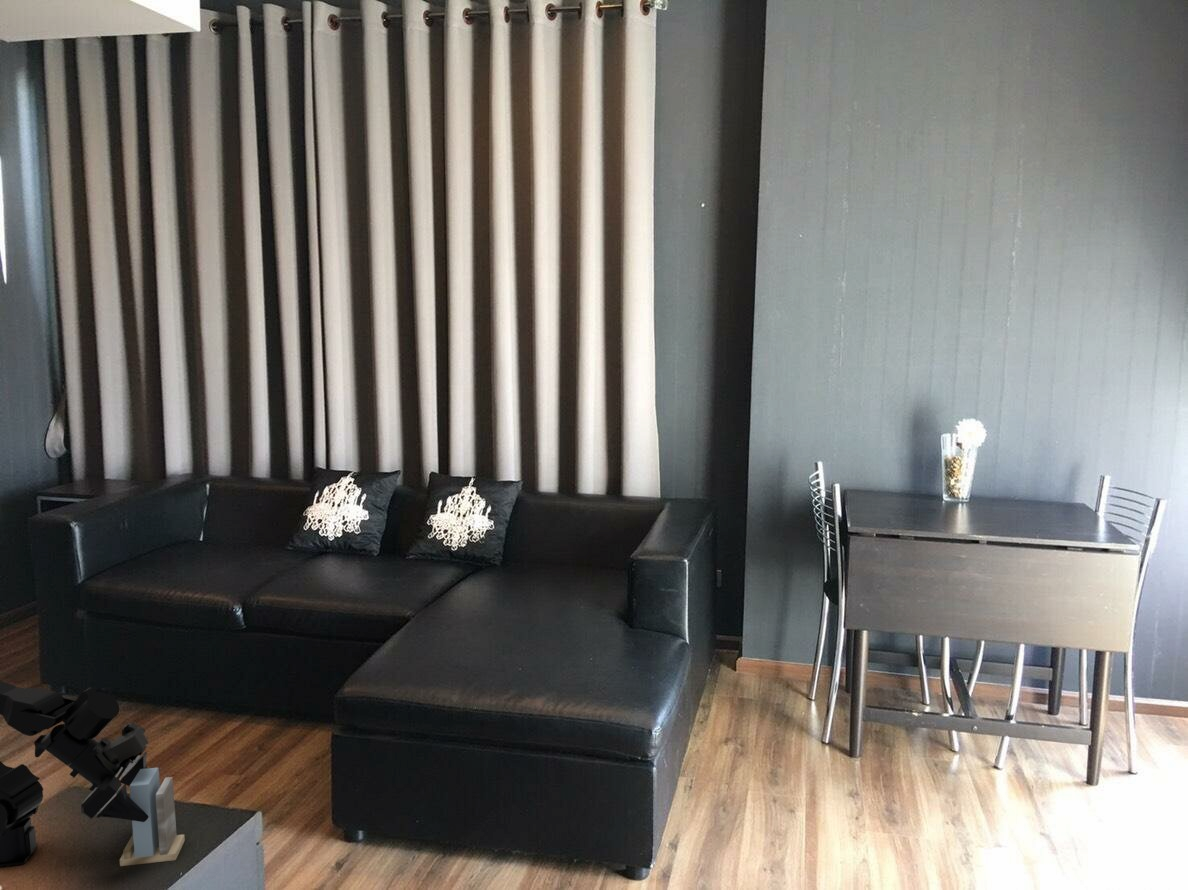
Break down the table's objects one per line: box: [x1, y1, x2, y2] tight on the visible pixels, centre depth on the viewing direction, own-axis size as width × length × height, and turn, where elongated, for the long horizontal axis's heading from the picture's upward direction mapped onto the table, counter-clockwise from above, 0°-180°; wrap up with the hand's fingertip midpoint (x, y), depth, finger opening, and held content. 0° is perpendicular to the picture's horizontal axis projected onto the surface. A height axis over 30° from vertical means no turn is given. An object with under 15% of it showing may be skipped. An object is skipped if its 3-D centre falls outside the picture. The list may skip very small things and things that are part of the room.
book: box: [129, 767, 161, 858], centre depth 165 cm, size 3×6×13 cm, turn 11°
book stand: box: [119, 776, 186, 867], centre depth 166 cm, size 9×6×12 cm
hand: (154, 806), depth 165 cm, fingers open, 9 cm apart
